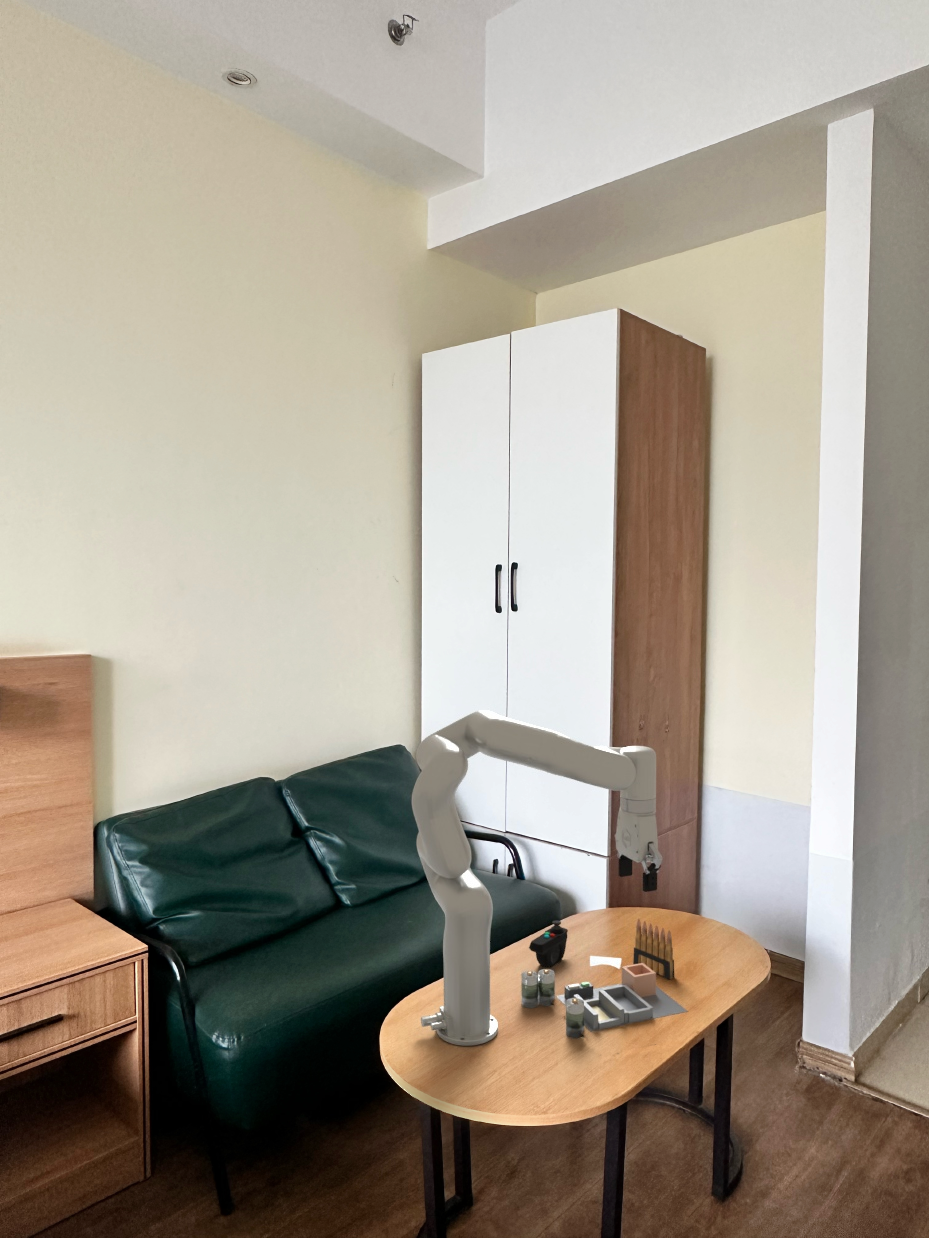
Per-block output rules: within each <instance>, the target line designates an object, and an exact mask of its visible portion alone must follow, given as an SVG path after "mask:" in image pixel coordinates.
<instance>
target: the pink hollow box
mask: <svg viewBox="0 0 929 1238" xmlns="http://www.w3.org/2000/svg"><path fill="white" fill-rule="evenodd" d="M621 983H622V985H627V986H628V987H629V988H630V989H632V990H633V991H634V992H635V993H636V994H637V995H639V996H640V997H645V996H650V995H655V994H656V986H657V974H656V973H655V972H654V971H653V970H651V969H650V968H649V967H648V966H646V965H645V964H644V963H639V964H628V965H624V966H621Z"/></svg>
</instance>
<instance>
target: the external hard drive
mask: <svg viewBox="0 0 929 1238" xmlns="http://www.w3.org/2000/svg"><path fill="white" fill-rule="evenodd" d="M601 965H605V966H607V965H608V966H612V967H615V968H616V969H618V970H620V969H621V967H622V966H621V965H622V958H621V957H613V956H612V957H611V956H610V957H609V956H598V955H589V966H590V967H594V966H601Z"/></svg>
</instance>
